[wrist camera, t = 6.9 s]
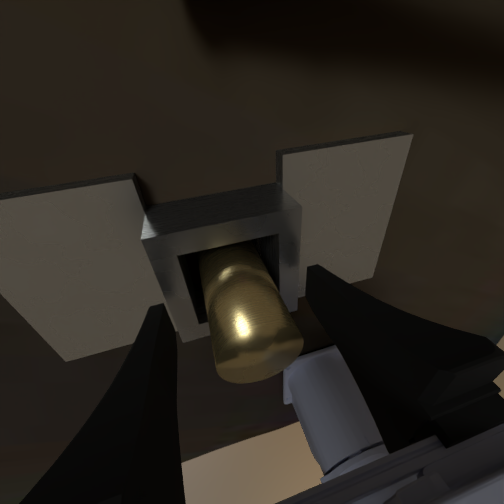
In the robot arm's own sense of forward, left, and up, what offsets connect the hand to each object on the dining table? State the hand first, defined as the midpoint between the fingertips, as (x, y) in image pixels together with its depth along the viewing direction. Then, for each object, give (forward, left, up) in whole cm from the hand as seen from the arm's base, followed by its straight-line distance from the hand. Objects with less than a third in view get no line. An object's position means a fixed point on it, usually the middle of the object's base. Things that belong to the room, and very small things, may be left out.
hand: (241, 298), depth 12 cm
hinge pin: (0, 0, -5) cm, 5 cm away
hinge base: (0, 0, -5) cm, 5 cm away
